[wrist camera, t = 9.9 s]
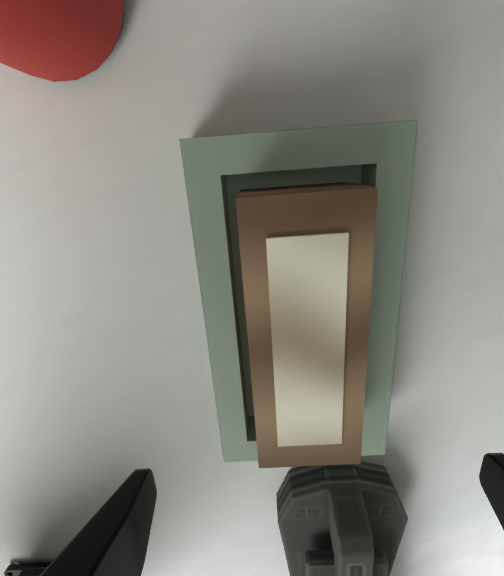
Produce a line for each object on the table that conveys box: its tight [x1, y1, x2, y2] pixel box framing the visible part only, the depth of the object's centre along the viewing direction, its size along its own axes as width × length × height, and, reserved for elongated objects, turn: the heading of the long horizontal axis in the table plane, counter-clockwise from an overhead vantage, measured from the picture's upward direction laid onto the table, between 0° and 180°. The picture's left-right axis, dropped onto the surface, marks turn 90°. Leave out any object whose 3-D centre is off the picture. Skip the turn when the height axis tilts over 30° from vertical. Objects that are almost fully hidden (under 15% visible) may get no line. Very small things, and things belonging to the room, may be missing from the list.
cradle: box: [180, 120, 418, 462], centre depth 17 cm, size 18×10×3 cm, turn 4°
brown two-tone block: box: [235, 182, 378, 468], centre depth 16 cm, size 13×5×5 cm, turn 4°
